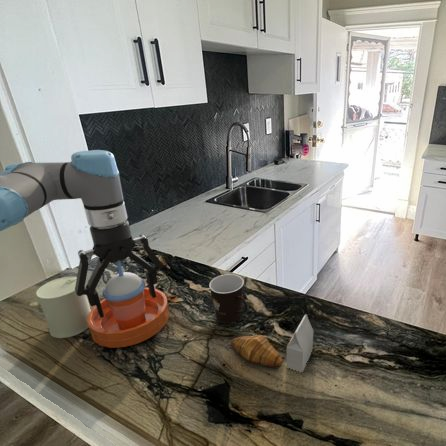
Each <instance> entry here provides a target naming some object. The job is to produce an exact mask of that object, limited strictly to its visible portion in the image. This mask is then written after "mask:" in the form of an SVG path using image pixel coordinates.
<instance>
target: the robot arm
mask: <svg viewBox="0 0 446 446" xmlns="http://www.w3.org/2000/svg"><path fill="white" fill-rule="evenodd" d="M70 159H71V160H70V161H64V162H63V161H60V162H59V161H58V162H34V161H33V162H32V161H26V162H25V161H24V162H19V163H11V164H8V165H7V166H5V167H4V170H3V171H2V172H1V175H0V232H2V231H4V230H7V229H9V228H11V227H13V226H16V225H18V224H19V223H21V222H22V221H24V219H25V218H27V217H28V216H30V215H32V214H34V213H35V212H36V211H38V210H40V209H42V208H43V207H45V206H46V205H48V204H50V203H51V202H53V201H59V200H60V201H61V200H79V199H80V200H81V201H82V204H83V209H84V212H85V216H86V220H87V224H88V225H89V232H90V236H91V239H92V244H93V245H92V249H88V250H83V249H80V250H78V251H77V255H78V258H79V264H78V269H77V273H76V274H77V276H76V277H77V280H76V285H75V291H76V294H77V296H82V295H86V296H87V299H88V302H89V306H90V307H94V306H95V305H96V307H97V311H98V313H99V316H100V318H102V317H104V314H103V310H102V307H101V303H100V302H101V300H100V296H99V292H98V291H97V286H98V285H99V282H100V281H101V278H102V277H103V275H104V272H105V270H106V269H107V268H108V266H109V264H114V263H116V262H117V261H120V262H121V261H124V260H127V258H129V259H130V260H132V261H134V262H135V263H137V264H138V265H139V266H141V268H143V269H144V270H146V271H145V278H146V282H147V288H149V293H150V295H151V296H152V297H153V298H155V297H156V294H155V289H156V288H155V285H157V284H158V282H159V281H158V276H157V274H158V271H159V270H162V269H163V268H164V265H163V264H162V262H161V261H160V260H159V258H158V257H157V255H156V254H155V253H154V251H153V249H152V248H151V247H150V244H149V240H148V237H147V236H145V235H144V234H140V235H139V236H138V237H135V238H133V236H132V232H131V228H130V222H129V220H128V213H127V209H126V205H125V198H124V194H123V189H122V183H121V178H120V170H119V169H118V166H117V162H116V159H115V155H114V154H113V153H112V152H110V151H109V150H103V149H94V150H93V149H92V150H91V149H90V150H81V151H76V152H73V153H72V154H71V155H70ZM136 245H138V246H139V247H142V249H143V251H144V252H145V254H147V256H148V257H149V259H150V260H151V261H152V263H153V265H151V264H150V263H149V262H147V261H146V260H145V259H144V258H142V257H141V256H139V255H138V254H136V253H135V252H134V251H133V249H134V247H135V246H136ZM93 256H96V257H97V262H96V265H95V267H94V269H93V271H92V273H91V275H90V277H89V278H88V281H87V275H88V271H89V262H90V261H91V260H92V258H93ZM86 281H87V283H86Z"/></svg>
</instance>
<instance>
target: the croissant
mask: <svg viewBox="0 0 446 446" xmlns="http://www.w3.org/2000/svg"><path fill="white" fill-rule="evenodd" d="M230 346H231V347H232V349H233V350H234V351H235V352H236V354H238V355H239V356H242V357H243V358H244V359H245V360H247V361H248V362H249V363H252V364H256V365H261V366H263V367H266V368H272V369H280V368H281V367H282V365H283V362H284V361H283V360H284V359H283V358H282V357H281V355H280V353H279V352H278V351H277V350H276V348H275V347H274V346H273V345H272V344H271V343H270V341H269V340H268V338H266V337H265V336H264V335H262V334H253V335H243V336H237V337H234V338H232V340H231V341H230Z"/></svg>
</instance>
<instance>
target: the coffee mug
mask: <svg viewBox="0 0 446 446" xmlns="http://www.w3.org/2000/svg"><path fill="white" fill-rule="evenodd" d="M244 284H245V281H244V278H243V277H242V276H240V275H239V274H235V273H234V274H233V273H226V274H221V275H218V276H216V277H214V278H213V279H211V280H210V282H209V284H208V287H209V291H210V294H211V298H212V303H213V307H214V310H215V314H216V318H217V320H218V321H219V322H221V323H223V324H230V323H235V322H236V321H238V320H239V319H240V318H241V316H242V314H243V313H245V312H247V311H248V304H247V301H246V300H245V298H244V286H245V285H244ZM243 304H244V309H243Z"/></svg>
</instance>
